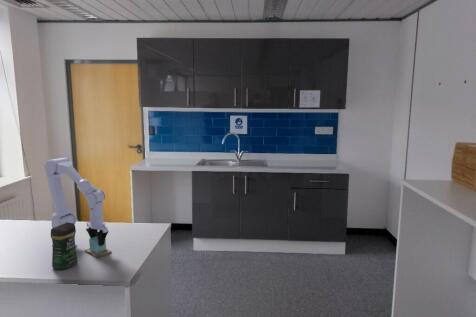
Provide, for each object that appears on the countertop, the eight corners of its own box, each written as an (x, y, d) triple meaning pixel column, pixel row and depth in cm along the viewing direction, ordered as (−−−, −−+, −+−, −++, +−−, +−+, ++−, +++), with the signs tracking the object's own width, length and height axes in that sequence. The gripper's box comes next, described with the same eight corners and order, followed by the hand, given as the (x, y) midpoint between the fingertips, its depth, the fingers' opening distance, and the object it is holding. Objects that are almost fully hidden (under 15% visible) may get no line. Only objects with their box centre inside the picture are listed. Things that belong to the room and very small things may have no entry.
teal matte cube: (90, 250, 155) (89, 238, 154) (100, 246, 159) (99, 235, 158) (96, 253, 152) (95, 241, 151) (106, 249, 156) (105, 237, 155)
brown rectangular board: (84, 251, 156) (84, 241, 155) (98, 247, 162) (98, 237, 161) (97, 258, 150) (97, 247, 149) (111, 252, 155) (111, 242, 154)
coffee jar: (63, 272, 136) (61, 229, 134) (48, 269, 139) (46, 227, 136) (81, 262, 146) (78, 222, 143) (66, 259, 148) (64, 220, 145)
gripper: (113, 217, 152) (114, 244, 154) (95, 211, 160) (97, 237, 162) (99, 221, 146) (100, 249, 148) (81, 214, 155) (83, 241, 157)
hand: (97, 243), depth 155 cm, fingers open, 6 cm apart
